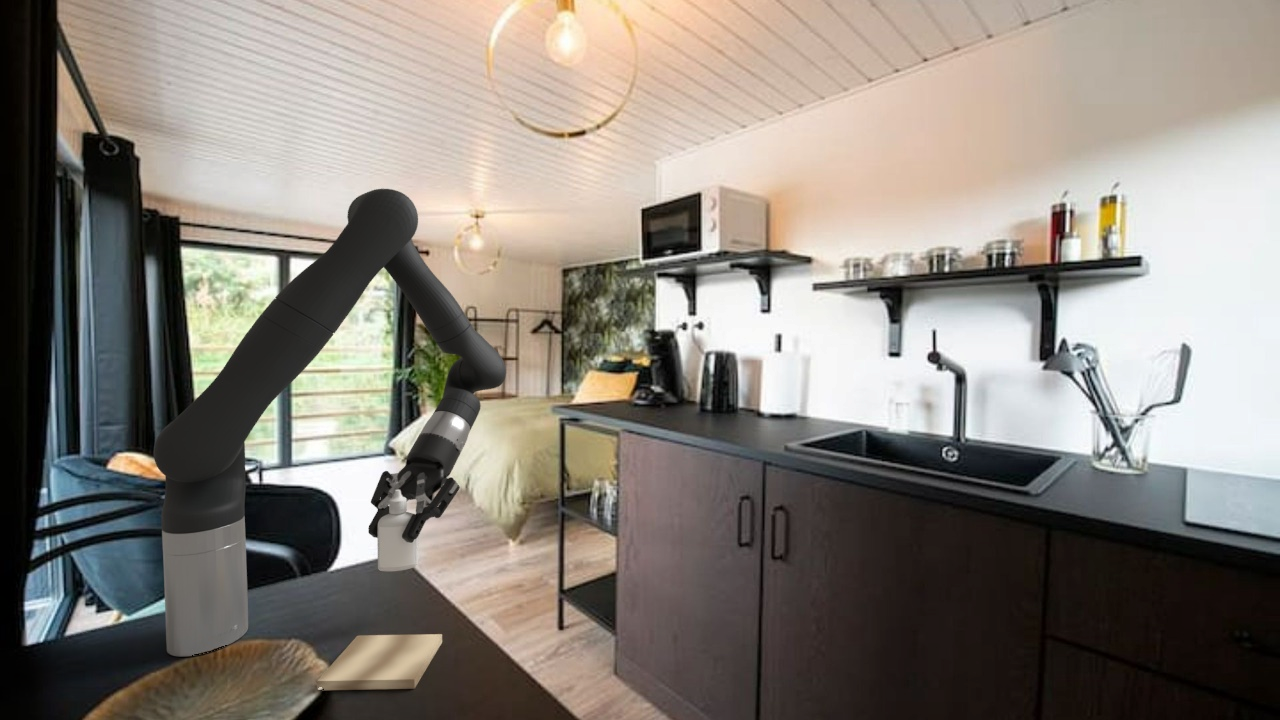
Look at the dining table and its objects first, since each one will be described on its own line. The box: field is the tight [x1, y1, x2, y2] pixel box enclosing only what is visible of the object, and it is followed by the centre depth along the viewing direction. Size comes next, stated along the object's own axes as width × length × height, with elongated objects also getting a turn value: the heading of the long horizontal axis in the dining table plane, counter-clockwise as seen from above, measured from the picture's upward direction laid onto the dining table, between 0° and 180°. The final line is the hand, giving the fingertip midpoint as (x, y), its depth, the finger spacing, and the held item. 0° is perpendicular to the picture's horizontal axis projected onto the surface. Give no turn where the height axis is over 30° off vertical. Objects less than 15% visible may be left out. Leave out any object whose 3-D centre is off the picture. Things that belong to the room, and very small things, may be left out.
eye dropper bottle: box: [377, 490, 419, 572], centre depth 81 cm, size 4×6×12 cm
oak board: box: [316, 633, 443, 691], centre depth 71 cm, size 12×10×1 cm
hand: (390, 537), depth 80 cm, fingers closed on eye dropper bottle, 5 cm apart
